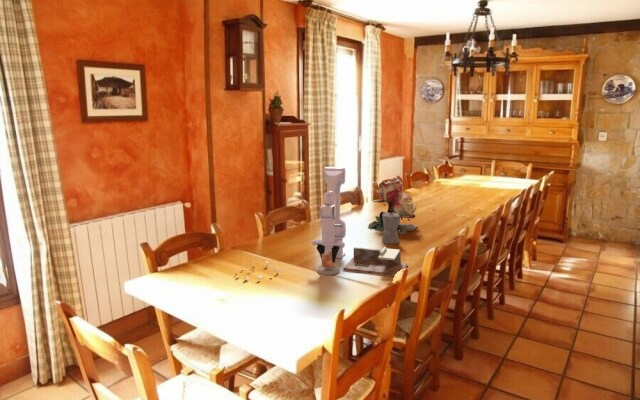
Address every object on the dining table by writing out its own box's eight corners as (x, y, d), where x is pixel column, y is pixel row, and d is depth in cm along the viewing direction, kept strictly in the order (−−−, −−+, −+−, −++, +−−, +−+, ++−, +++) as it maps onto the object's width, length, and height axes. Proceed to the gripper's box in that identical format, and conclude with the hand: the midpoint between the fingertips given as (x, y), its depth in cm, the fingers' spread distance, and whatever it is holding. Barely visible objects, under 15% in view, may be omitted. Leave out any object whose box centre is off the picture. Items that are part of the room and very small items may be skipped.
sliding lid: (378, 258, 200) (378, 253, 199) (384, 249, 212) (384, 245, 211) (394, 260, 198) (394, 255, 197) (399, 251, 209) (399, 246, 209)
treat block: (321, 267, 203) (321, 254, 201) (325, 264, 207) (325, 251, 206) (331, 268, 201) (331, 255, 200) (334, 265, 205) (334, 252, 204)
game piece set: (257, 264, 216) (257, 256, 215) (288, 273, 204) (288, 265, 203) (225, 276, 201) (224, 267, 201) (256, 286, 189) (255, 277, 188)
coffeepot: (405, 243, 245) (406, 210, 241) (392, 246, 240) (392, 212, 236) (386, 236, 257) (386, 205, 254) (373, 239, 252) (373, 207, 249)
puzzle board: (343, 270, 205) (343, 256, 204) (352, 260, 219) (352, 246, 218) (401, 277, 196) (401, 262, 195) (407, 265, 210) (407, 252, 209)
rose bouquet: (408, 236, 258) (409, 183, 252) (363, 228, 275) (364, 179, 269) (427, 226, 278) (429, 177, 272) (384, 220, 295) (385, 174, 290)
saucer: (314, 273, 202) (314, 271, 201) (321, 266, 211) (321, 264, 211) (335, 276, 198) (335, 274, 198) (342, 268, 207) (342, 266, 207)
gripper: (309, 233, 200) (309, 262, 202) (341, 235, 195) (341, 266, 197) (315, 229, 206) (315, 257, 209) (346, 231, 201) (346, 261, 204)
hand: (328, 261), depth 204 cm, fingers closed on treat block, 4 cm apart
